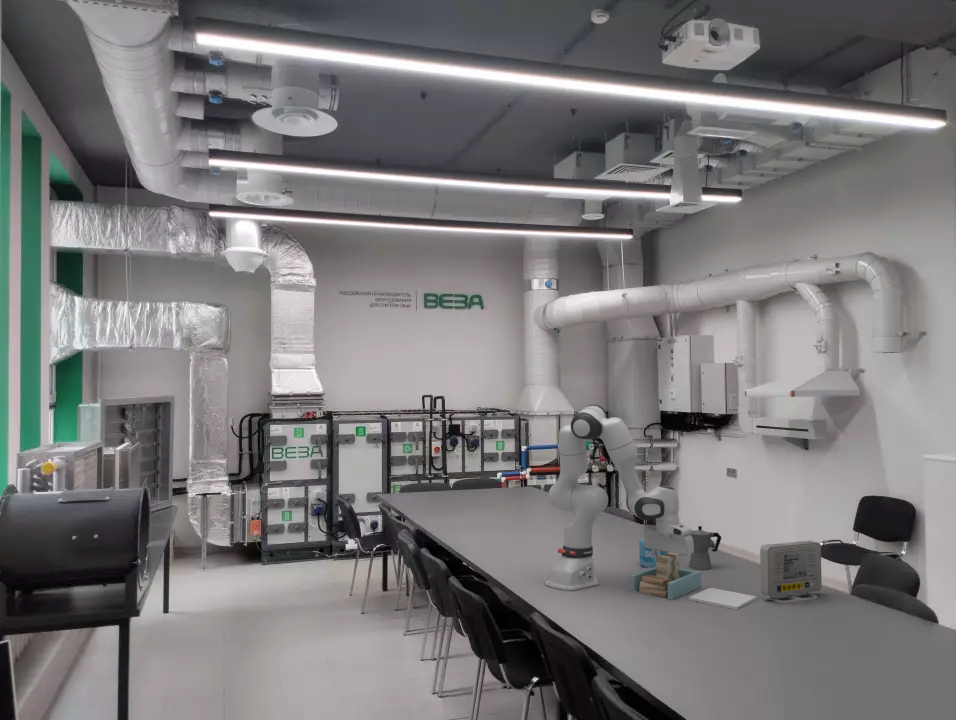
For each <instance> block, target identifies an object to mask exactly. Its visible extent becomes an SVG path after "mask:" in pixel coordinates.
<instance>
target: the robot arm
mask: <svg viewBox="0 0 956 720" xmlns="http://www.w3.org/2000/svg"><path fill="white" fill-rule="evenodd" d="M598 439H601V440H602V442H603V443H604V446H605V449H606V452H607V454H608V456H609V459H610V460H611V462H612V463H613V465H614V466H615V468H616V469H617V471H618V474H619V476H620V478H621V481H622V484H623V486H624V489H625V495H626V496H625V499H626V502H625V503H626V508H627V509H628V511H629V512H630V513H631V514H632V515H634V516H636V517H638V519H640V520H642V521H643V520H644V521H651V520H655V524H647V525H645V526H644V528H643V534H644V535H643V538H644V543H643V544H644V547H645V548H648V549H652V553H653V555H654V556H655V561H656V556H658V554H657V551H658V550H660V551H665V552H671V553H677V554H679V560H677V565H679V567H681V566H682V565H683V560H685V559H684V558H685V556H691V554H692V553H693V552H694V543H693V538H692V536H691V535H690V534H691V532H692V531H693V530H692V528H691V527H690V526H687V525H685V524H683V523H681V522H680V517H679V511H680V501H679V494H678V491H677V489H675V488H674V487H672V486H669V485H665V484H664V485H662V484H659V485H657V486H656V487H655V488H653V489H651V490H650V491H648V492H646V491H645V490H644V489H643V487H642V485H641V483H640V479H639V478H638V477H639V476H638V474H637V471H636V469H635V468H636V467H635V465H636V462H637V459H638V451H637V447H636V443H635V441H634V438H633V436H632V434H631V432H630V430H629V428H628V426H627V425H626V423H625V421H624V420H623V419H621V417H616V416H614V417H613V416H612V417H609V418H608V414H607V411H606V409H605V408H604V407H603V406H601V405H598V404H589V405H587V406H585V407H583V408H582V409H580V410H579V411H578V412H577V413H576V414H575V415H574V416H573V417H572V419H571V421H570V424H566V425H564V426H562V427H561V428H560V429H559V432H558V455H559V470H560V471H559V475H558V478H557V481H556V482H555V483H554V484H552V485H551V487H550V488H549V490H548V493H547V495H548V496H547V497H548V501H549V503H550V505H551V506H552V507H554V508H557V509H558V510H559V509H560V510H562V511H571V512H575V517H574V519H572V520H570V521H568V522H567V523H566V524H565V526H564V528H563V532H564V533H563V534H564V535H563V537H564V538H563V539H564V541H563V546H562V548H560V547H558V549H557V553H558V554H560V555H561V556H560V558H559V559H558V560H557V562H556V563H555V564H554V566H553V567H552V568H551V571H550V578H549V579H548V580H546V581H545V582H544V586H546V587H549V588H553V589H557V590H563V591H578V590H580V589H581V590H583V589H586V588H590V587H596V586H599V581H598V580H597V575H596V574H597V572H596V564H595V562H594V560H593V555H594V547H593V545H592V541H593V540H592V539H593V538H592V537H593V527H594V523H595V521H596V519H597V518H598V516H599V515H600V514H601V513H602V512H604V511H605V510H606V508H607V507H608V504H609V503H608V502H609V496H608V493H607V492H606V490H605V489H604V488H603V487H599V486H596V485H591V484H580V483H579V481H578V480H579V477H582V476H583V475H584V474H586V472H588V469H589V464H588V463H589V461H588V452H587V442H586V441H587V440H598Z"/></svg>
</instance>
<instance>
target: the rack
mask: <svg viewBox="0 0 956 720" xmlns="http://www.w3.org/2000/svg"><path fill="white" fill-rule="evenodd" d="M701 574H702V572H701V571H700V570H694V571H693V570H689V569H688V570H687V569H682V568H679V576H680V578H679V579H676V580H674V581H671V582H669V583H668V597H667V600H669V599H671V600H670V601H673V600H675V599H677V597H678V598H680V597H682V596H684V595H687V594H689V593H691V592H693V590H694V591H695V589H696V590H698V589H700V588H701V587H702V575H701ZM646 575H652V576H656V567H654V568H647V569H645V570H643V571H639V572H638V573H634V574H632V575H630V592H632V591H636V592H638V591H637V590H639V587H640V582H641V581H642V577H643V576H646ZM699 587H700V588H699ZM697 588H698V589H697ZM690 591H691V592H690ZM688 592H689V593H688ZM686 593H687V594H686ZM681 595H682V596H681ZM679 596H680V597H679ZM674 598H675V599H674ZM672 599H673V600H672Z"/></svg>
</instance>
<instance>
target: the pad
mask: <svg viewBox="0 0 956 720" xmlns="http://www.w3.org/2000/svg"><path fill="white" fill-rule="evenodd" d="M691 600H694V601H693V602H696V601H698V602H697V603H701V602H704V603H703V604H706V603H708V604H707V605H710V604H713V605H712V606H715V605H716V606H717V607H720V608H725V609H729V608H730V610H734V611H735V610H736V611H737V610H740V609H741V608H743V607H745V606H746V605H749V604H751V603H752V602H754V601H756V600H757V596H755V595H751V594H745V593H740V592H735V591H729V590H725V589H721V588H720V589H719V588H714V587H708V588H706V589H704V590H702V591H700V592H699V591H698V592H696V593H695V594H692V595H690V596H689V597H688V601H691Z"/></svg>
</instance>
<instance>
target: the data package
mask: <svg viewBox="0 0 956 720" xmlns="http://www.w3.org/2000/svg"><path fill="white" fill-rule="evenodd" d="M643 543H644V537H643V538H640V539H639V545H638V546H639V549H638V550H639V565H641V566H642V567H643V568H645V569H649V568H648V567H656V561H655V556H654V555H653V553H652V549H648V548H645V547H644V544H643ZM665 553H668V552H665V551H660V550H658V551H657V554H658V556H659V555H662V554H665Z"/></svg>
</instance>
